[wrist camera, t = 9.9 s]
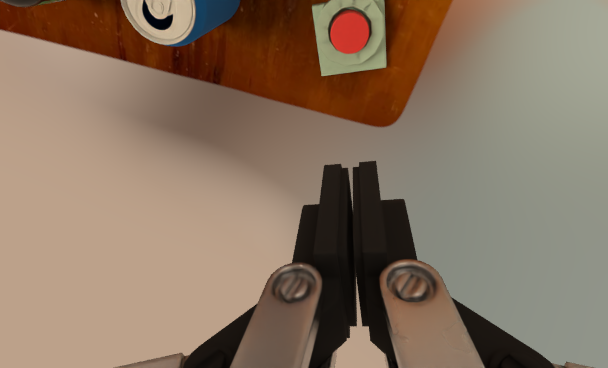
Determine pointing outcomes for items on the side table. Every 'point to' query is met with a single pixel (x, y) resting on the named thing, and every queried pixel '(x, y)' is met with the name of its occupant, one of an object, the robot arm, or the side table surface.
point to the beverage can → (177, 18)
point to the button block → (367, 58)
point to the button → (349, 32)
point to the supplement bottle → (28, 2)
